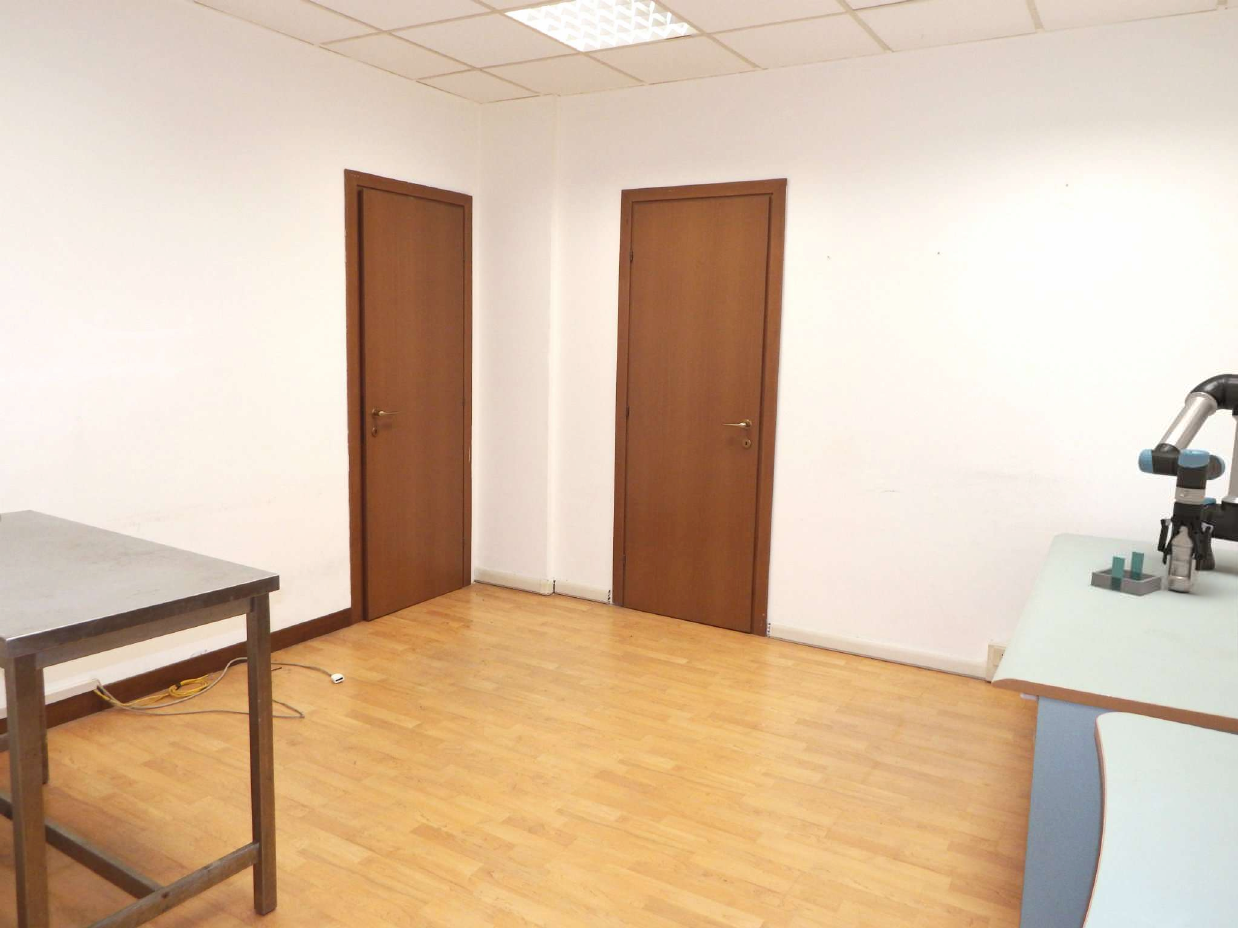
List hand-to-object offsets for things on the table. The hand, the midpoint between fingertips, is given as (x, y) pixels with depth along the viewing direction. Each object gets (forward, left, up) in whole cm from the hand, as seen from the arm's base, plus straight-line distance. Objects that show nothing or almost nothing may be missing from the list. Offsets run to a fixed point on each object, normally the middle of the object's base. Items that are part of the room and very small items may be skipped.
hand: (1180, 578), depth 271 cm
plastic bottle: (0, 0, -4) cm, 4 cm away
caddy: (+10, -11, -4) cm, 15 cm away
